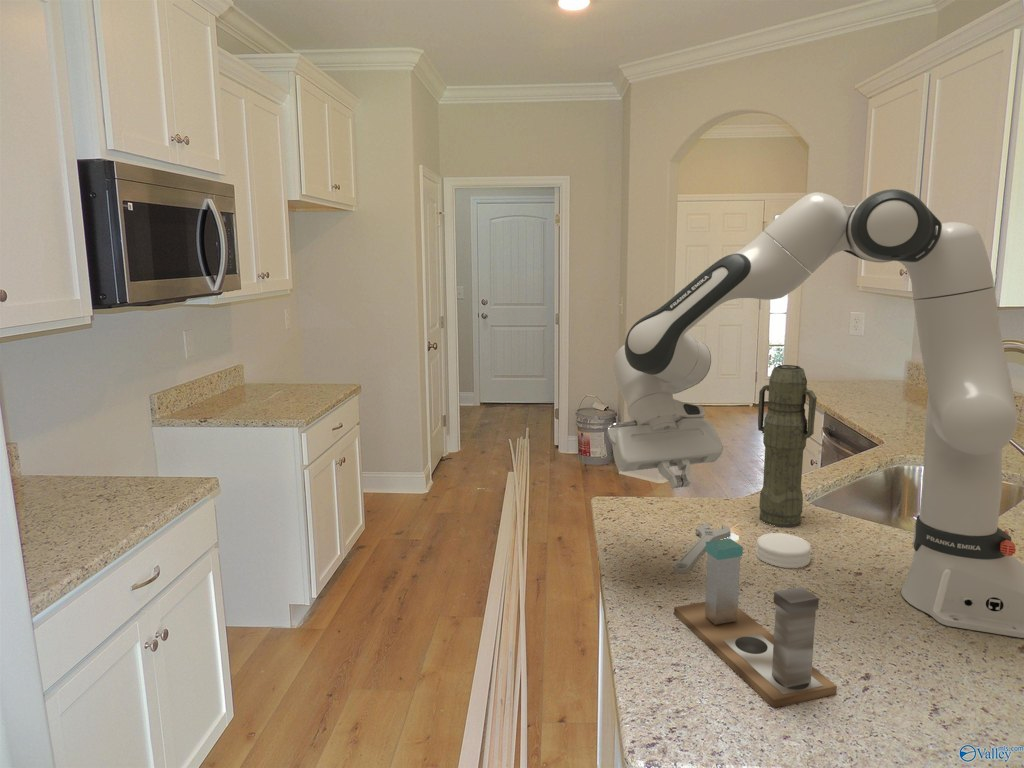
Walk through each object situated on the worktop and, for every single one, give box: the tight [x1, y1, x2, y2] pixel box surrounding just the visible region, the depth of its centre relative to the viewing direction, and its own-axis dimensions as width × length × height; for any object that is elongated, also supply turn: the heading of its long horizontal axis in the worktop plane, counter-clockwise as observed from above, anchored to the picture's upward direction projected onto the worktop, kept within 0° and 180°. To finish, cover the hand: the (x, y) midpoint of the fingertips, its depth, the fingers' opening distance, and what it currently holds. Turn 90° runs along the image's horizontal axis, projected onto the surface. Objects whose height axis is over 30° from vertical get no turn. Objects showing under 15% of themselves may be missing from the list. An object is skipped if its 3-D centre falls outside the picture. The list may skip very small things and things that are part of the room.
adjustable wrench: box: [673, 523, 731, 574], centre depth 142 cm, size 25×6×2 cm, turn 142°
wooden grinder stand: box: [673, 586, 838, 709], centre depth 104 cm, size 26×10×14 cm, turn 17°
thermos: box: [757, 364, 817, 528], centre depth 153 cm, size 9×12×35 cm
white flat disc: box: [755, 532, 812, 569], centre depth 137 cm, size 10×10×4 cm
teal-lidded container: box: [704, 538, 744, 625], centre depth 111 cm, size 3×4×13 cm
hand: (681, 486), depth 121 cm, fingers closed
